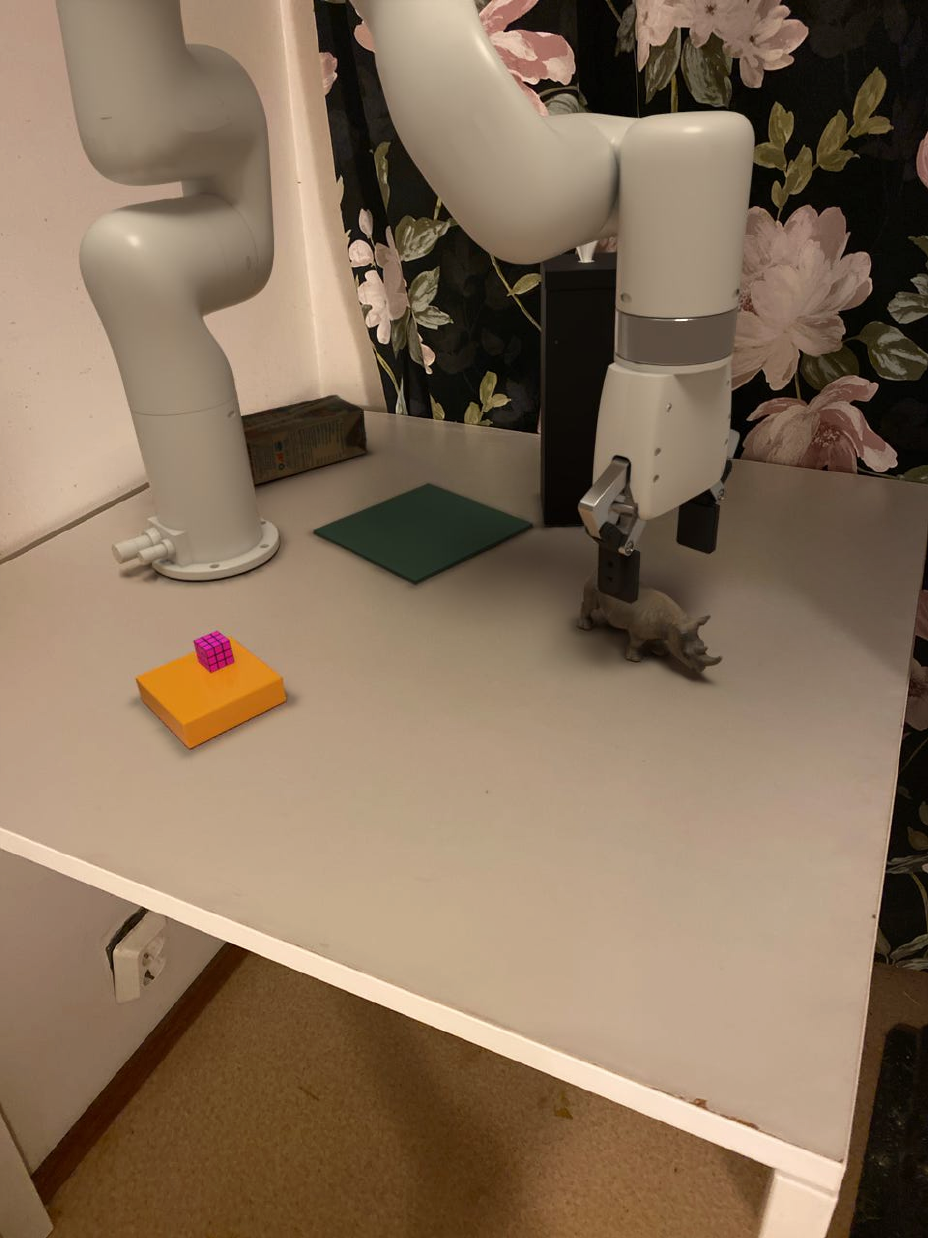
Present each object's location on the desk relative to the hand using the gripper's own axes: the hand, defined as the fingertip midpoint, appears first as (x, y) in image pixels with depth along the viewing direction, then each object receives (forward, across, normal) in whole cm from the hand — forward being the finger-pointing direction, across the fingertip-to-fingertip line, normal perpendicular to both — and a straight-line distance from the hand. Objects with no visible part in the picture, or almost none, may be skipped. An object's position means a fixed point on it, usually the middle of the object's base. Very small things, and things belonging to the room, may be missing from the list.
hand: (658, 571), depth 64 cm
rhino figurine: (+8, 0, 0) cm, 8 cm away
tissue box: (+7, -17, -22) cm, 28 cm away
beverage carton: (+7, -4, -56) cm, 57 cm away
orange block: (+7, +27, -20) cm, 35 cm away
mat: (+7, -3, -30) cm, 31 cm away
